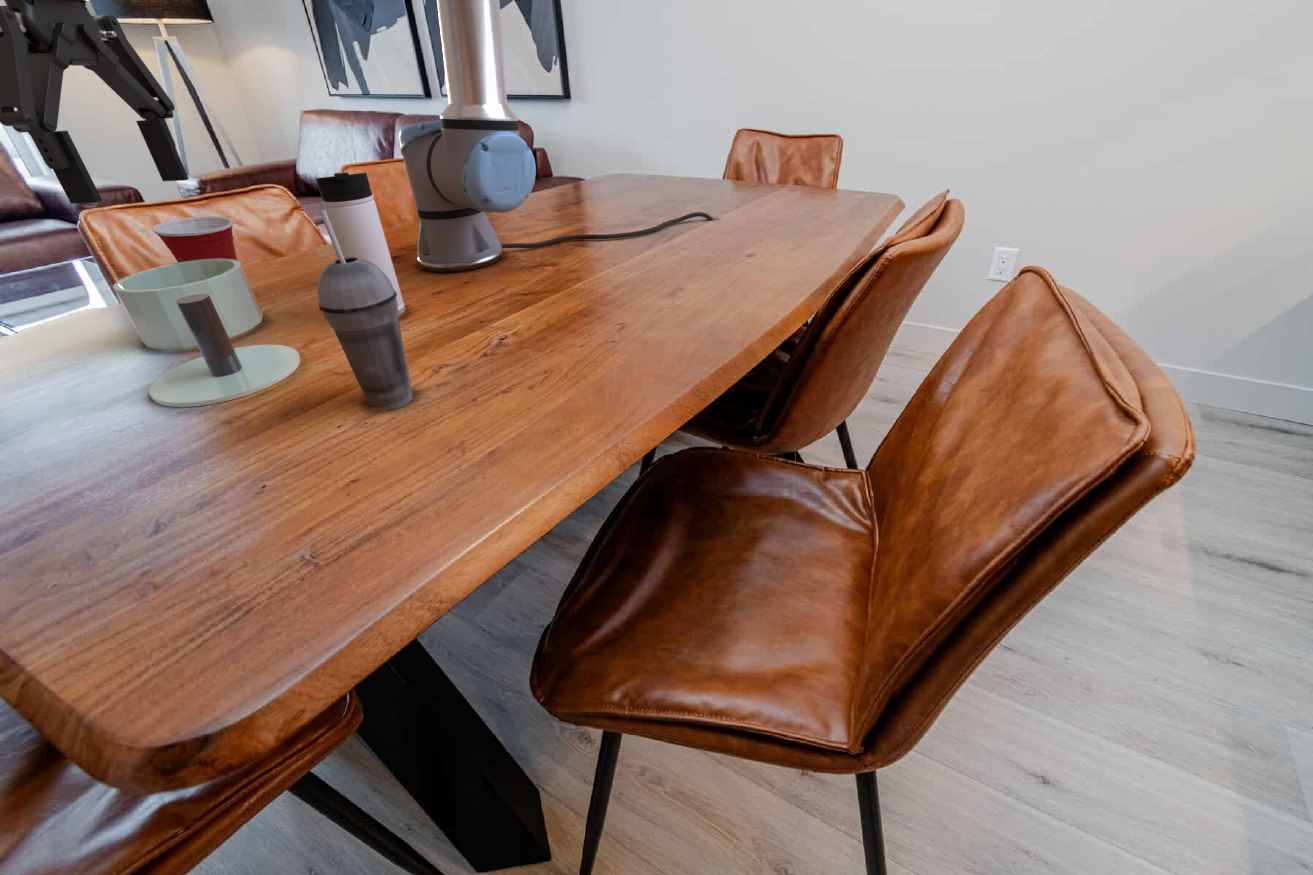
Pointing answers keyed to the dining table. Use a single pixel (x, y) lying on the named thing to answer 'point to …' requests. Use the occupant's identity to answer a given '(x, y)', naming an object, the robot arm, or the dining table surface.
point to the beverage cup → (366, 325)
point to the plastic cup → (198, 238)
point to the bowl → (161, 287)
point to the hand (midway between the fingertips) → (135, 191)
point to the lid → (219, 363)
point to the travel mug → (357, 222)
